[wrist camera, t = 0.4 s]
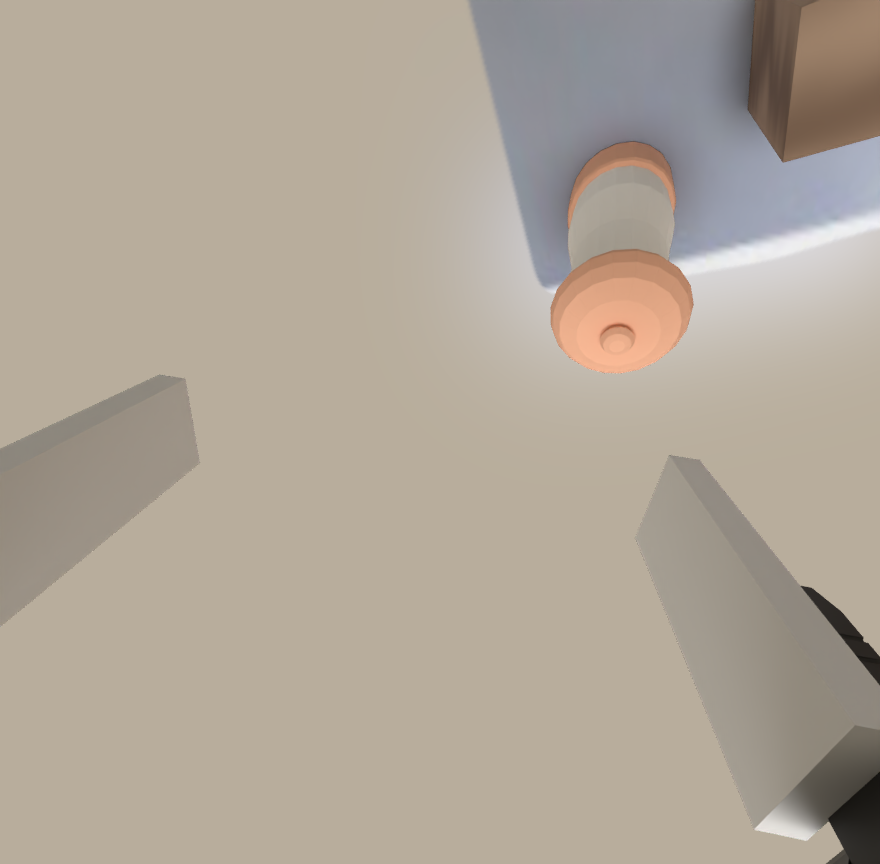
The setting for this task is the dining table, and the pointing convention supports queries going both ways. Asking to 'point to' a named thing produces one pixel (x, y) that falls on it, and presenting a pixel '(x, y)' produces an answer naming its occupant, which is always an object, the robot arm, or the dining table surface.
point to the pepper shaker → (621, 264)
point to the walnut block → (815, 74)
